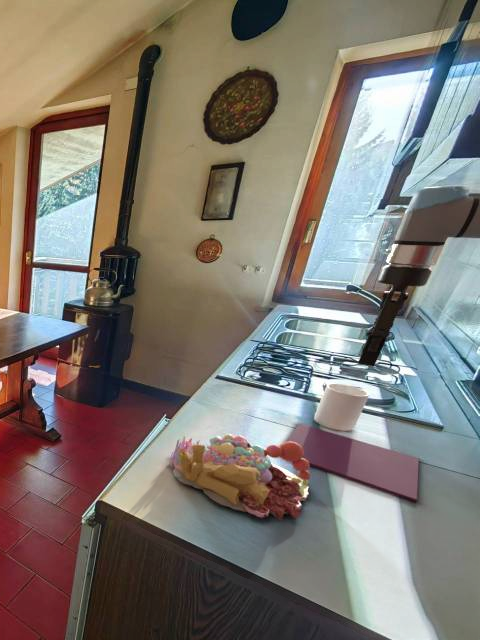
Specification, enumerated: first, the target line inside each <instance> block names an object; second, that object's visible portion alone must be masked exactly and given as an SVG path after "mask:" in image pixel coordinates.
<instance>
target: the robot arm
mask: <svg viewBox="0 0 480 640" xmlns="http://www.w3.org/2000/svg"><path fill="white" fill-rule="evenodd" d="M469 192H470V187H469V186H464V185H458V186H457V185H449V186H448V185H446V186H428V187H423V188H421V189H418V190H417V191H416V192H415V193H413V195H412V198H411V199H410V202H409V204H408V207H407V208H406V210H405V212H404V215H403V218H402V219H401V222H400V224H399V228H398V230H397V232H396V235H395V237H394V241H393V243H392V245H391V248H387V249H386V250H385V254H388V255H387V257H386V259H385V263H386V264H387V265H384V266H383V267H382V268H381V271H380V273H379V275H378V278H377V282H378V283H379V284H383V285H390V286H389V287H388V291H383V293H382V295H381V298H380V301H381V302H380V303H379V307H378V315H377V317H375V320H374V322H373V325H372V326H371V329H370V331H367V332H366V333H365V336H366V337H367V339H366V341H365V343H364V346H363V348H362V351H361V352H362V353H361V354H360V357H359V360H358V361H357V364H358V365H364V366H370V367H375V366H376V363H377V361H378V359H379V356H380V354H381V352H382V350H383V347H384V345H385V343H386V341H387V338H388V337H389V336H390V331H391V329H392V328H393V327H394V323H395V319H396V317H397V315H398V314H400V313H401V311H402V309H403V306H404V304H405V303H406V302H407V300H408V298H409V296H410V295H409V294H410V293H408V292H407V291H406V290H407V288H408V287H424V286H426V285H427V283H428V281H429V278H430V277H431V274H432V272H433V270H432V268H431V267H433V266H436V265H437V263H438V261H439V258H440V256H441V254H442V252H443V249H444V247H445V244H446V241H447V240H448V239H449V238H454V239H458V238H459V239H462V238H464V239H480V197H479V196H475V197H474V196H469V195H470V194H469Z"/></svg>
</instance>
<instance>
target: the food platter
mask: <svg viewBox="0 0 480 640" xmlns="http://www.w3.org/2000/svg"><path fill="white" fill-rule="evenodd" d="M180 440H181V439H180V438H179V439H177V440H176V444H175V448H174V450H173V451H172V453H171V456H170V460H169V461H170V466H172V465H173V467H174V469H173V470H172V474H173V476H174V478H176V479H177V480H178V482H181V483H182V484H184V485H187V486H191V487H193V488H195V489H199V490H202V491H203V494H204V495H206V496H208V498H209V499H210V500H212V501H214V502H216V503H217V504H219V505H221V506H225V507H228V508H231V509H233V510H236V511H241V512H244V513H245V512H248V513H249V514H251V515H255V516H256V517H258V518H260V519H261V518H266V517H268V516H269V515H270V514H271V515H272V516H274V517H275V518H276V519H277V520H279V521H280V522H282V520H283V517H284V514H287V515H290V516H291V517H292V518H293V519H297V518H298V517H299V516H300V515H301V514H302V513H303V511H302V510H301V507H302V503H301V501H302V502H304V501H306V499H307V498H308V497H309V495H310V494H309V485H308V484H309V482H310V481H309V480H310V478H311V476H312V475H311V473H310V471H309V469H310V467H311V466H310V464H309V462H308V461H307V460H306V459H304V458H302V457H303V455H304V451H303V449H302V447H301V446H300V445H299V444H297V443H295V442H291V441H289V442H287V441H284V442H282V443H281V444H279V445H277V444H269V445H268V446H267V447H266V449H265V448H263V447H262V446H260V445H258V444H250V442H248V440H247V438H246V437H244V436H243V435H233V434H230V433H226V434H224V436H223V437H221V436H219V435H216V436H212V437H211V438H209V444H207V445H206V446H205V444H204V445H201V443H200V440H198V441H196V444H195V443H193V444H192V441H193V437H191V438H189V439H188V440H186V436H185V435H184V436H183V438H182V440H181V441H180ZM199 443H200V444H199ZM269 457H270V458H273V459H276V458H277V459H278V458H281V459H282V460H283V461H285V462H290V463H291V464H292V469H294V470H295V471H297V472H298V473H297V475H298V476H297V475H296V474H295V473H292V472H291V471H289V470H287V469H286V468H283V467H281V466H279V465H277V464H274V463H272V461H271V459H270V458H269Z"/></svg>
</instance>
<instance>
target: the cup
mask: <svg viewBox="0 0 480 640" xmlns="http://www.w3.org/2000/svg"><path fill="white" fill-rule="evenodd" d="M369 397H370V393H369V391H366V390H364V389H362V388H359V387H356V386H352V385H349V384H342V383H328V384H326V386H325V389H324V390H323V394H322V396H321V399H320V401H319V403H318V406H317V408H316V410H315V413H314V416H313V419H314V421H315V422H316V423H317V424H319V425H321V426H322V427H325V428H329V429H331V430H336V431H341V432H349V431H352V430H353V429H354V428H355V427H356V425H357V423H358V421H359V419H360V417H361V415H362V412H363V410H364V408H365V406H366V403H367V401H368V399H369Z"/></svg>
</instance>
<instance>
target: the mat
mask: <svg viewBox="0 0 480 640" xmlns="http://www.w3.org/2000/svg"><path fill="white" fill-rule="evenodd" d="M289 441H291V442H295V443H297V444H299V445H300V446H301V447H302V449H303V451H304V455H303V457H302V458H304V459H306V460H307V461H308V462H309V464H310V467H312V468H316V469H318V470H322V471H325V472H327V473H331V474H333V475H335V476H339V477H341V478H344V479H348V480H351V481H354V482H357V483H360V484H362V485H365V486H368V487H371V488H373V489H377V490H379V491H382V492H385V493H388V494H391V495H394V496H397V497H400V498H403V499H406V500H409V501H411V502H414V503H417V501H418V489H419V487H418V485H419V463H420V458H419V457H416V456H412V455H409V454H405V453H402V452H399V451H395V450H392V449H389V448H386V447H382V446H379V445H376V444H371V443H368V442H365V441H361V440H357V439H355V438H351V437H348V436H344V435H341V434H339V433H338V434H337V433H333V432H330V431H328V430H324V429H320V428H317V427H314V426H310V425H307V424H303V423H298V424H297V426H296V427H295V428H294V430H293V431H292V433H291V434H290V436H289V438H288V439H287V441H286V442H289Z"/></svg>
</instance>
